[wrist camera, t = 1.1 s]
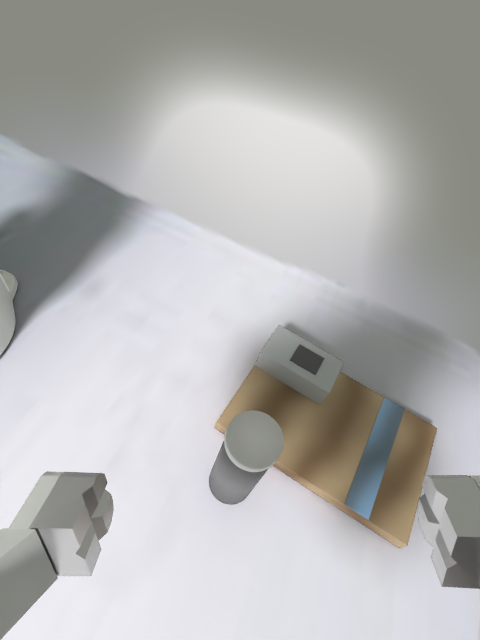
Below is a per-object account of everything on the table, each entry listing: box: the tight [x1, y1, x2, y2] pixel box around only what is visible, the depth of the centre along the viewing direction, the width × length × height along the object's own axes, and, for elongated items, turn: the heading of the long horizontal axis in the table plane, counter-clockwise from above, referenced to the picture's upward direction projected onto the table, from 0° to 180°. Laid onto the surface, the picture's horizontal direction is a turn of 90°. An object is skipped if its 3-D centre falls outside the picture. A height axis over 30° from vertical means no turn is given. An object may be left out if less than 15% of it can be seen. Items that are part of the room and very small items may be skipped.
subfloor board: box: [215, 366, 437, 548], centre depth 41 cm, size 20×13×2 cm, turn 59°
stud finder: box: [255, 325, 344, 405], centre depth 43 cm, size 8×4×3 cm, turn 60°
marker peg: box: [209, 410, 284, 504], centre depth 33 cm, size 4×4×11 cm
